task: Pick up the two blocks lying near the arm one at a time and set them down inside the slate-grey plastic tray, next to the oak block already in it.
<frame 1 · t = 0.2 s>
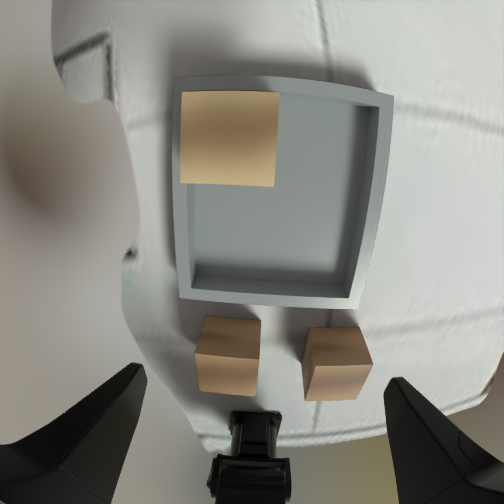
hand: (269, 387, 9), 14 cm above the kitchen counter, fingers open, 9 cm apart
block b: (329, 346, 26), on the kitchen counter
tray: (278, 192, 20), on the kitchen counter
block c: (237, 135, 18), resting on tray
block a: (233, 338, 26), on the kitchen counter
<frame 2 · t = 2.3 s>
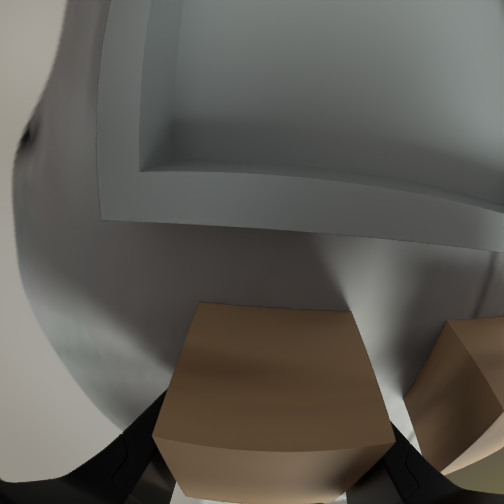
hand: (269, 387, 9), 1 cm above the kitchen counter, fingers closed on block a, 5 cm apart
block b: (460, 358, 10), on the kitchen counter
block a: (269, 361, 10), on the kitchen counter, touching gripper
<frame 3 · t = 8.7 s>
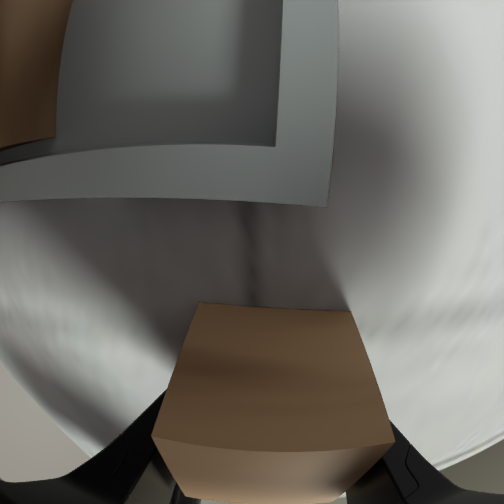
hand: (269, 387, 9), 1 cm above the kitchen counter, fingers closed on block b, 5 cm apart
block b: (269, 362, 10), on the kitchen counter, touching gripper
block a: (14, 82, 5), resting on tray
when the fingers open (3 cm above the kitchen counter, at t = 12.2 s): block b drops 2 cm, resting on tray.
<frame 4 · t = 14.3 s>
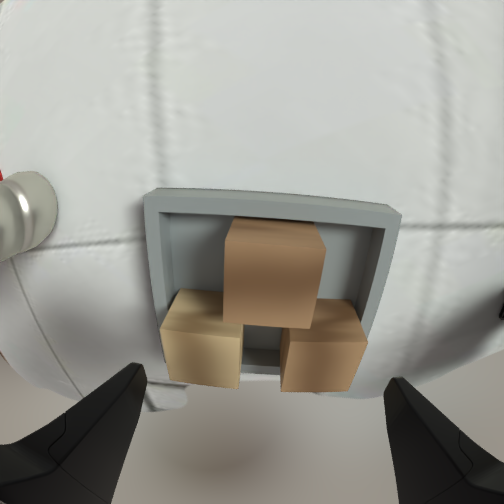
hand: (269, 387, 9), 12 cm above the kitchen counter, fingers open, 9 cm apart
block b: (270, 250, 19), resting on tray
tray: (267, 286, 21), on the kitchen counter
block c: (213, 317, 22), resting on tray
block a: (313, 324, 22), resting on tray
plastic bottle: (42, 201, 19), on the kitchen counter
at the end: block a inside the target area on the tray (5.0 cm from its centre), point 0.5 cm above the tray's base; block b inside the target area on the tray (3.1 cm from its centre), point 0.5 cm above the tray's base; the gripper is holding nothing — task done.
